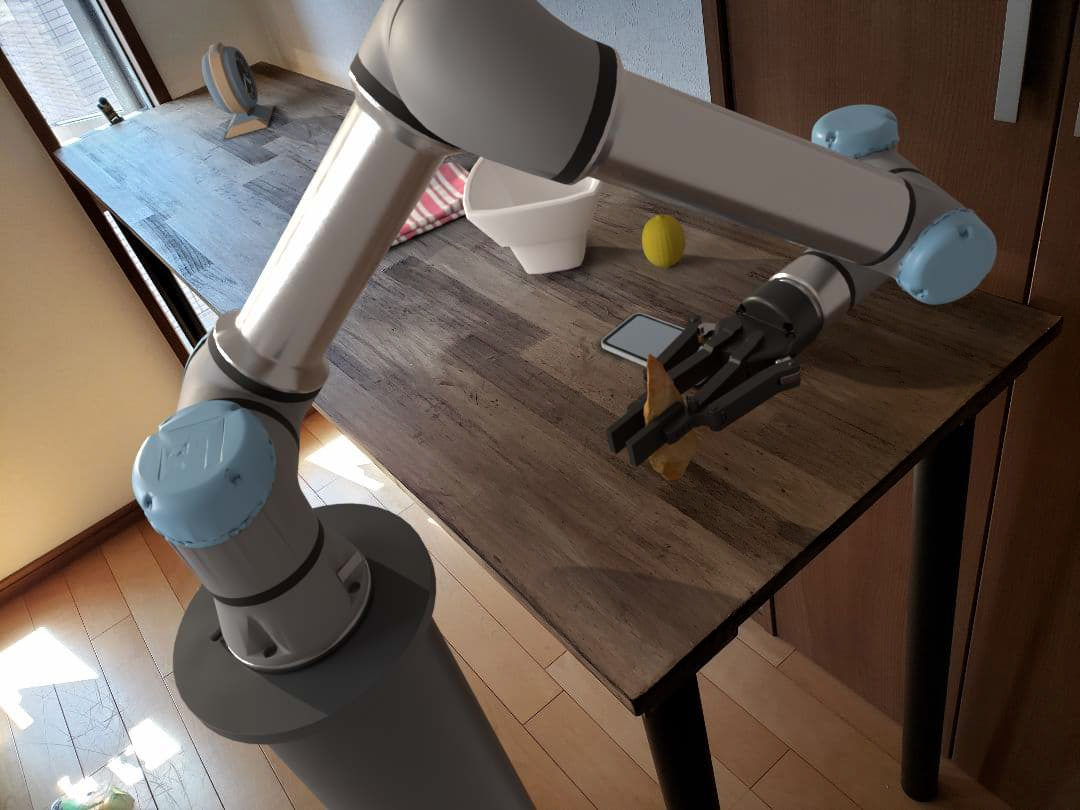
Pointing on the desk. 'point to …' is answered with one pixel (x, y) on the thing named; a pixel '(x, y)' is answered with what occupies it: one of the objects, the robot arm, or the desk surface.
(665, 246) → the lemon
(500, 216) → the bowl
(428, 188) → the dish towel
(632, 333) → the smartphone
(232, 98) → the alarm clock
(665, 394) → the stone tool
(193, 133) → the desk surface
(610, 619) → the desk surface
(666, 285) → the desk surface
